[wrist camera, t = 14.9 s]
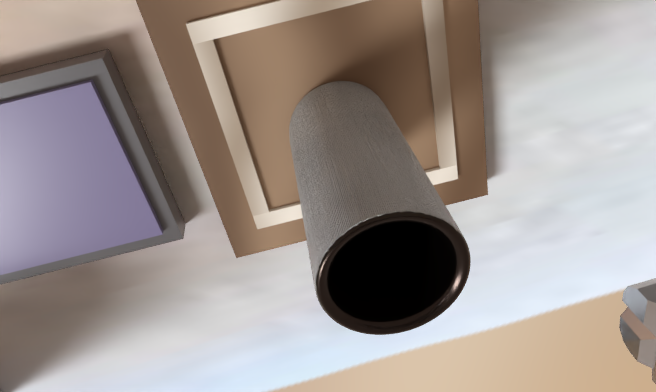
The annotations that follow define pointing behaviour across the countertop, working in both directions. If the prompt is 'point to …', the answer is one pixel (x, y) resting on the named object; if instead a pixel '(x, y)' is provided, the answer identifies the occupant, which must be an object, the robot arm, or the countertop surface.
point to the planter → (371, 215)
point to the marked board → (307, 74)
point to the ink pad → (76, 170)
